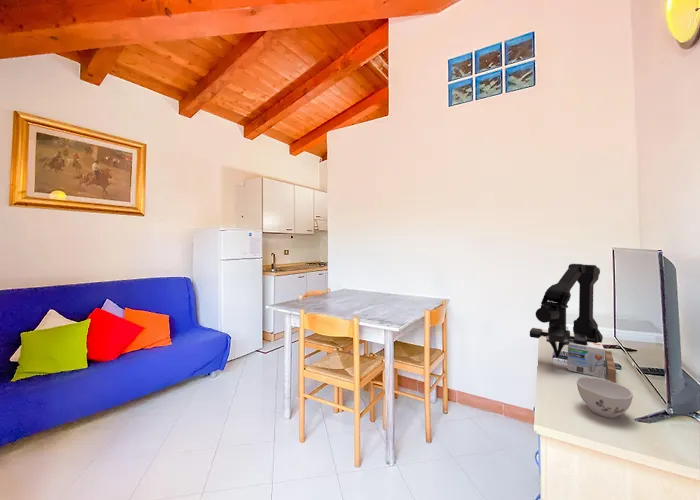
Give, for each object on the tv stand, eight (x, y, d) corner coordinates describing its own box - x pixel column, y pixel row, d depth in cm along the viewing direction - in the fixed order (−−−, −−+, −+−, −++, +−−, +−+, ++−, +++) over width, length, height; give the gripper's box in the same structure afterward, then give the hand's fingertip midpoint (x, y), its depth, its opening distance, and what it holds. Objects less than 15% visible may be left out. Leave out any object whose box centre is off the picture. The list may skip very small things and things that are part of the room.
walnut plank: (605, 365, 115) (604, 350, 115) (611, 366, 114) (611, 351, 114) (608, 385, 100) (608, 368, 100) (616, 387, 99) (615, 369, 99)
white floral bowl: (636, 431, 76) (636, 402, 76) (577, 415, 84) (576, 388, 84) (628, 405, 88) (628, 379, 88) (576, 393, 96) (576, 369, 96)
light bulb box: (568, 370, 111) (568, 343, 111) (566, 364, 117) (567, 338, 116) (604, 378, 105) (605, 349, 105) (601, 371, 111) (602, 343, 110)
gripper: (527, 319, 116) (527, 357, 116) (587, 327, 104) (587, 370, 105) (531, 314, 125) (531, 349, 125) (587, 321, 113) (586, 360, 113)
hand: (557, 357), depth 117 cm, fingers closed
